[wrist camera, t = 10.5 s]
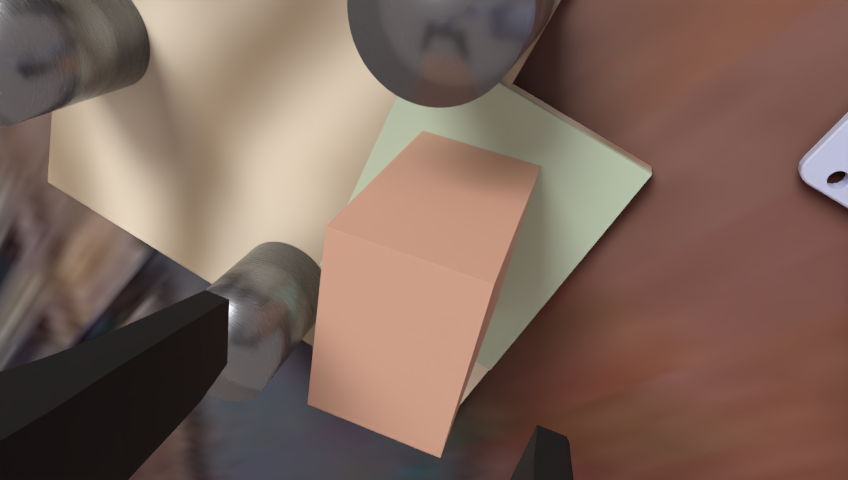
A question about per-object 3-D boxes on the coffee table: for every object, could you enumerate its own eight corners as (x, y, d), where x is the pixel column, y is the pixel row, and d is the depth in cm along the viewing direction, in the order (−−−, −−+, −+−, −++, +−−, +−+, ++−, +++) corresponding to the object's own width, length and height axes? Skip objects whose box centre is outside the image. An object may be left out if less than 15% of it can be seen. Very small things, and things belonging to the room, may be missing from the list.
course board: (759, 32, 15) (813, 81, 11) (445, 416, 26) (403, 526, 21) (99, -357, 16) (-126, -473, 11) (58, 176, 26) (-65, 232, 22)
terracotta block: (540, 166, 18) (494, 283, 12) (494, 310, 21) (440, 458, 15) (422, 130, 19) (325, 226, 13) (395, 275, 22) (307, 404, 16)
